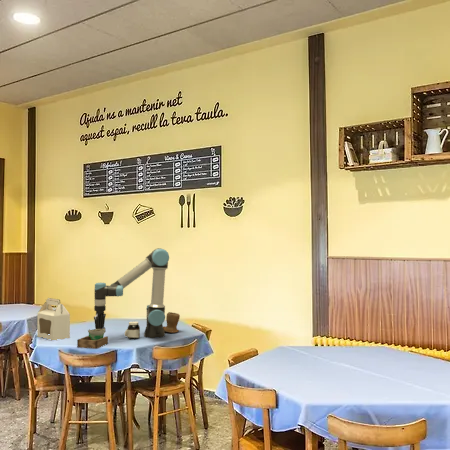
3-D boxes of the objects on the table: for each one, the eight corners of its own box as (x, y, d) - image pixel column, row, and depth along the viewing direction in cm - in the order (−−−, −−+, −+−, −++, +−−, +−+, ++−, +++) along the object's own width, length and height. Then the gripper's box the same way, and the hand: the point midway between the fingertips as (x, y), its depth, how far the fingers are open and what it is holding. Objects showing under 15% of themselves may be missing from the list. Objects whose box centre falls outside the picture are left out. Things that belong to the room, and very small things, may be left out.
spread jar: (136, 340, 354) (136, 323, 354) (121, 339, 356) (121, 323, 356) (142, 336, 366) (142, 320, 366) (127, 336, 368) (127, 320, 368)
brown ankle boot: (182, 332, 382) (182, 312, 382) (170, 334, 374) (170, 314, 374) (170, 329, 393) (170, 310, 393) (158, 331, 385) (158, 312, 385)
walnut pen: (107, 343, 343) (107, 336, 343) (96, 348, 328) (96, 341, 328) (89, 342, 346) (89, 335, 347) (77, 347, 332) (77, 339, 332)
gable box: (37, 336, 365) (37, 298, 366) (53, 333, 375) (53, 296, 376) (53, 341, 351) (53, 301, 351) (70, 338, 361) (70, 299, 361)
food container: (90, 346, 336) (91, 332, 334) (86, 342, 341) (88, 329, 338) (107, 343, 344) (108, 330, 341) (103, 339, 348) (105, 326, 346)
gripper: (99, 303, 355) (99, 336, 355) (90, 306, 342) (89, 340, 342) (109, 304, 353) (109, 337, 353) (100, 306, 340) (99, 341, 340)
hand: (99, 339), depth 347 cm, fingers closed
